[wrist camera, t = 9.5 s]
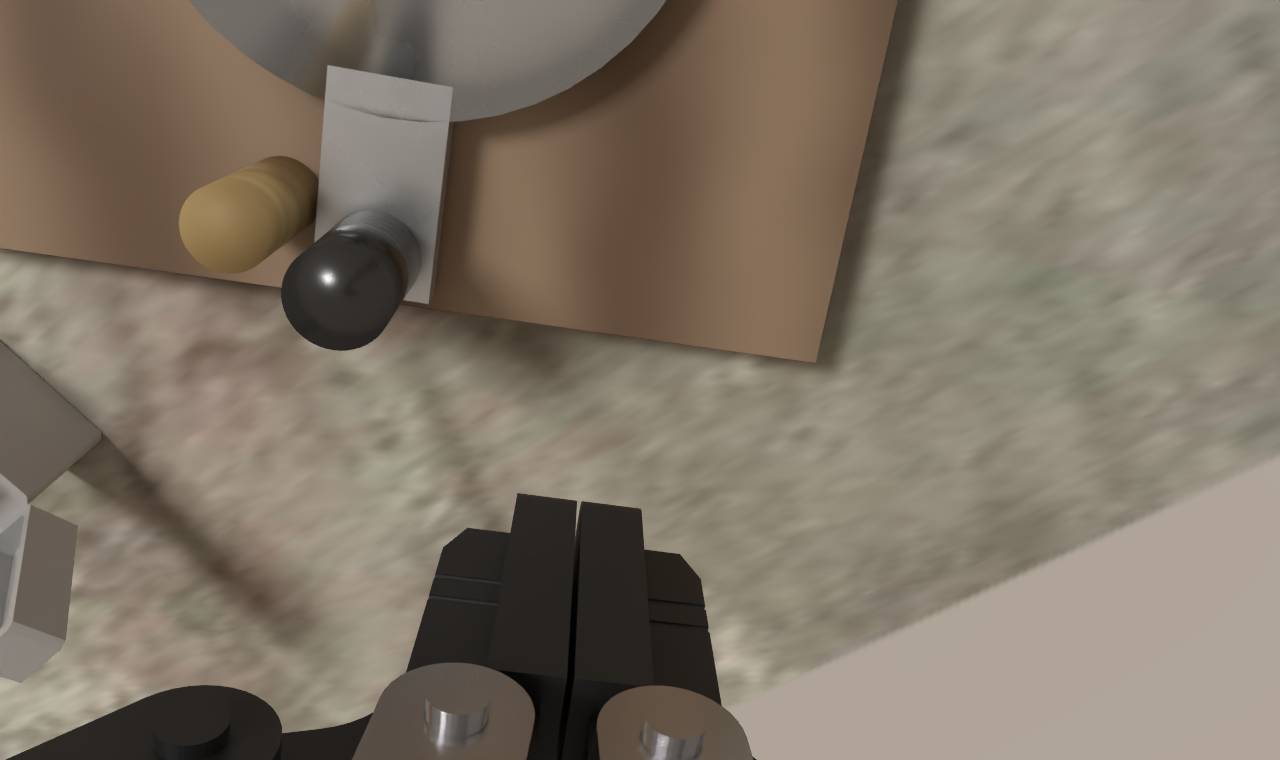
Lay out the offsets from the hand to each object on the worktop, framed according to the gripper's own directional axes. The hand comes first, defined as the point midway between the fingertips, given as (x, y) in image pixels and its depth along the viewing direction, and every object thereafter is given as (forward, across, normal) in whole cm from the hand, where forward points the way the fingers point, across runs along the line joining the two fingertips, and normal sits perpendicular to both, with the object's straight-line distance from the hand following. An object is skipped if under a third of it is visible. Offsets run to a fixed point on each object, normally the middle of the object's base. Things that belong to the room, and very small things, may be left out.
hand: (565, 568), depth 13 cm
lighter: (+18, +14, +8) cm, 24 cm away
